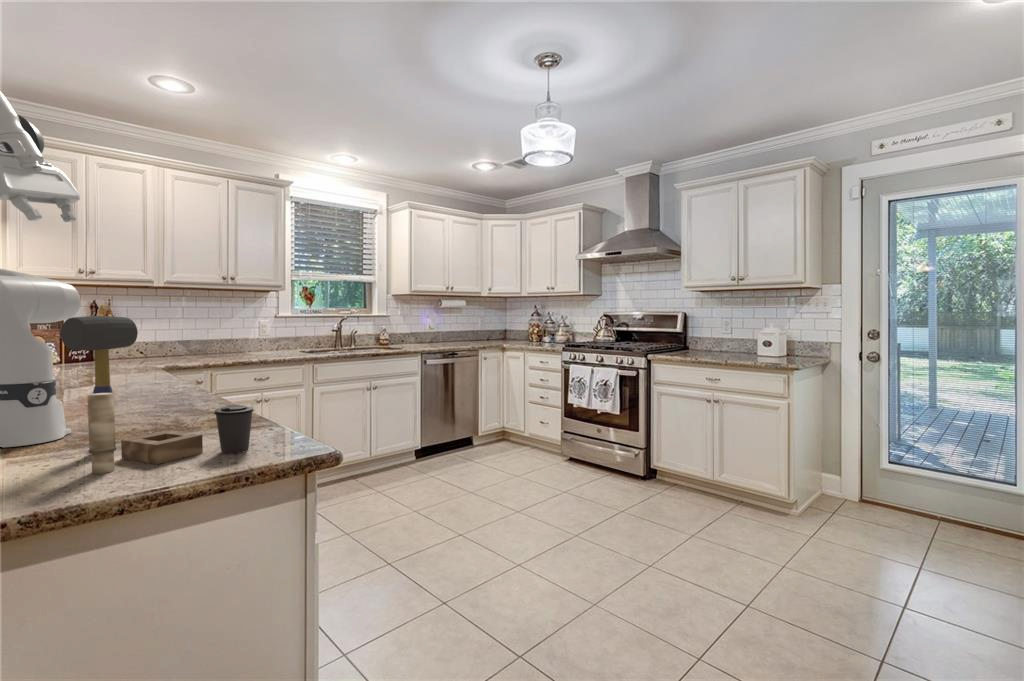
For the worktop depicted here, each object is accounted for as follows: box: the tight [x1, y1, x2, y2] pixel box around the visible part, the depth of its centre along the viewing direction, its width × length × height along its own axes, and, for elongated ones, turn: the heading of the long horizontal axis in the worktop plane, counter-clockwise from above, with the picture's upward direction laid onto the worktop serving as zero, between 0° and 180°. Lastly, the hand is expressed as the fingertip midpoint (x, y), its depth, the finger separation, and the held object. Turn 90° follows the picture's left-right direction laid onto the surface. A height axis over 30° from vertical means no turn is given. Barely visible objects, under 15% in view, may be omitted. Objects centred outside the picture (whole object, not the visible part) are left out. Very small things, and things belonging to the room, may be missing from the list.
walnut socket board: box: [120, 429, 204, 465], centre depth 112 cm, size 11×10×4 cm
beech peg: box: [86, 392, 117, 475], centre depth 100 cm, size 4×4×15 cm
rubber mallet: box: [60, 315, 139, 444], centre depth 114 cm, size 12×8×30 cm, turn 167°
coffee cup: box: [213, 404, 255, 454], centre depth 116 cm, size 8×8×10 cm
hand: (54, 220), depth 109 cm, fingers open, 8 cm apart
